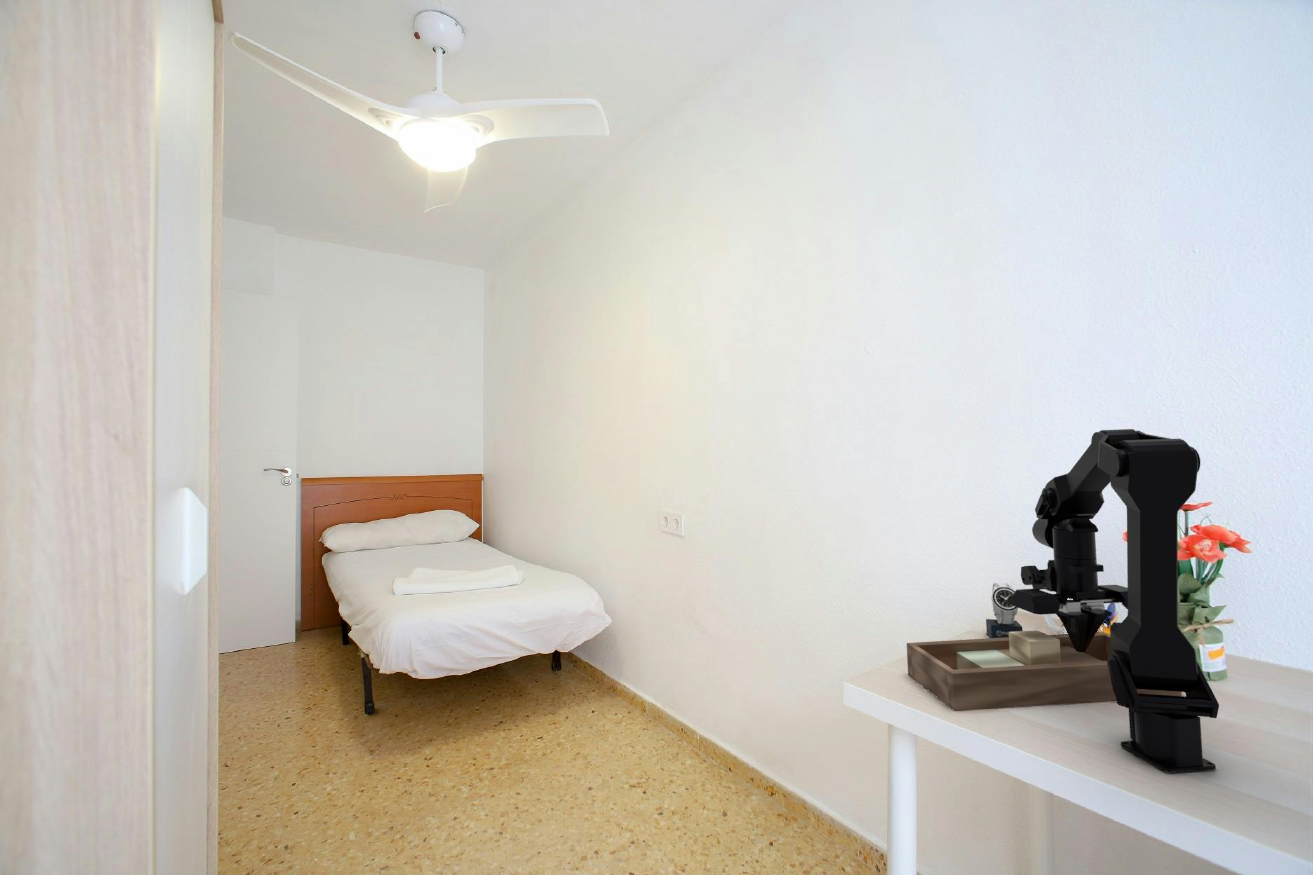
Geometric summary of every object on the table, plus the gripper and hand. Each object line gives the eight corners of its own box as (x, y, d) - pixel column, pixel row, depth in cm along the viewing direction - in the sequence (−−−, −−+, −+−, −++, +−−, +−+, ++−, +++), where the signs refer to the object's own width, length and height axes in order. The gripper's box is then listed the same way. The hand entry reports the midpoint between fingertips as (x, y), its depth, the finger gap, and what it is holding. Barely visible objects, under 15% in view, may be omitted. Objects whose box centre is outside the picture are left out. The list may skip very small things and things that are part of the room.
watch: (994, 643, 113) (991, 588, 113) (984, 631, 121) (982, 579, 121) (1026, 645, 111) (1023, 589, 111) (1015, 633, 119) (1012, 580, 119)
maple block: (1061, 664, 91) (1059, 639, 91) (1031, 666, 91) (1029, 641, 91) (1038, 654, 96) (1037, 630, 96) (1009, 655, 96) (1008, 631, 96)
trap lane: (1181, 696, 87) (1179, 660, 87) (954, 710, 85) (952, 673, 85) (1104, 663, 101) (1103, 631, 101) (908, 674, 99) (906, 642, 99)
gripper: (1089, 546, 103) (1094, 633, 102) (989, 550, 102) (993, 638, 101) (1145, 557, 92) (1151, 655, 91) (1033, 562, 91) (1039, 661, 90)
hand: (1080, 651), depth 94 cm, fingers closed
